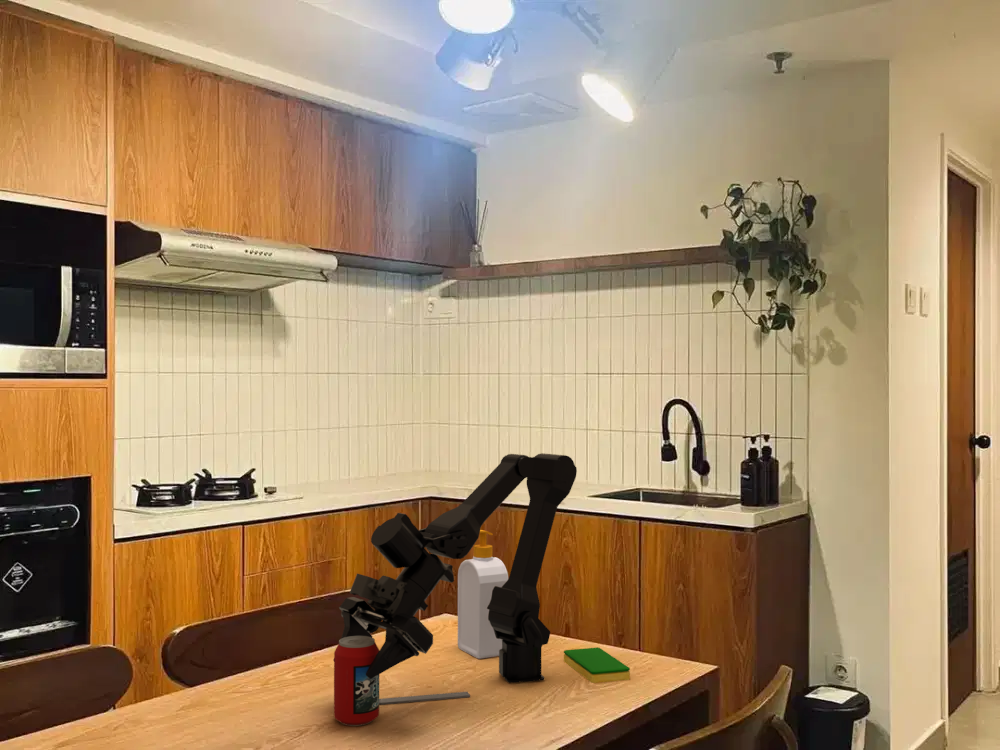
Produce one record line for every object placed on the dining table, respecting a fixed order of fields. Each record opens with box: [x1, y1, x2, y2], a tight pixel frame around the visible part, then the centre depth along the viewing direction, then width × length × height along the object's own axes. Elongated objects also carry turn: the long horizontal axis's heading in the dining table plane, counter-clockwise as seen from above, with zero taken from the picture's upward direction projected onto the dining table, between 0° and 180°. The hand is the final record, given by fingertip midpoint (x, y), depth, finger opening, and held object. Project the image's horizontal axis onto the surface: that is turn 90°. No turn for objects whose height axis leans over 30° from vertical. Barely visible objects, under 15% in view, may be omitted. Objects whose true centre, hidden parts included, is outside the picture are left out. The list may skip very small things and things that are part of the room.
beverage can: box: [333, 636, 380, 727], centre depth 145 cm, size 7×7×12 cm
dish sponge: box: [563, 646, 631, 684], centre depth 171 cm, size 7×14×2 cm, turn 17°
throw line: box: [379, 691, 471, 706], centre depth 154 cm, size 19×2×1 cm, turn 105°
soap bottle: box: [457, 529, 509, 660], centre depth 182 cm, size 9×7×23 cm
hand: (351, 669), depth 145 cm, fingers open, 9 cm apart
